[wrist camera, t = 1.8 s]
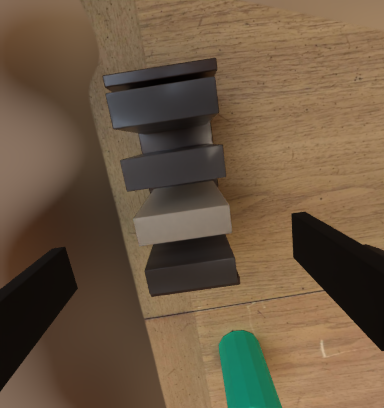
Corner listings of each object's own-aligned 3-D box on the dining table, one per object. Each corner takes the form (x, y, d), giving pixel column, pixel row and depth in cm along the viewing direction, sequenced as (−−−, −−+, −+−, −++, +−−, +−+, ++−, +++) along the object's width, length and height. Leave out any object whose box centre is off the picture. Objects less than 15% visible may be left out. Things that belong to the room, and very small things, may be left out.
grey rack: (133, 99, 26) (90, 66, 15) (205, 88, 26) (220, 45, 14) (162, 248, 31) (147, 313, 19) (223, 239, 31) (246, 299, 19)
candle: (263, 332, 34) (302, 429, 23) (253, 365, 36) (285, 472, 24) (222, 327, 34) (241, 423, 22) (214, 360, 36) (228, 467, 24)
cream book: (153, 189, 28) (132, 218, 17) (213, 180, 28) (229, 204, 17) (157, 207, 28) (139, 246, 18) (215, 198, 28) (232, 233, 18)
